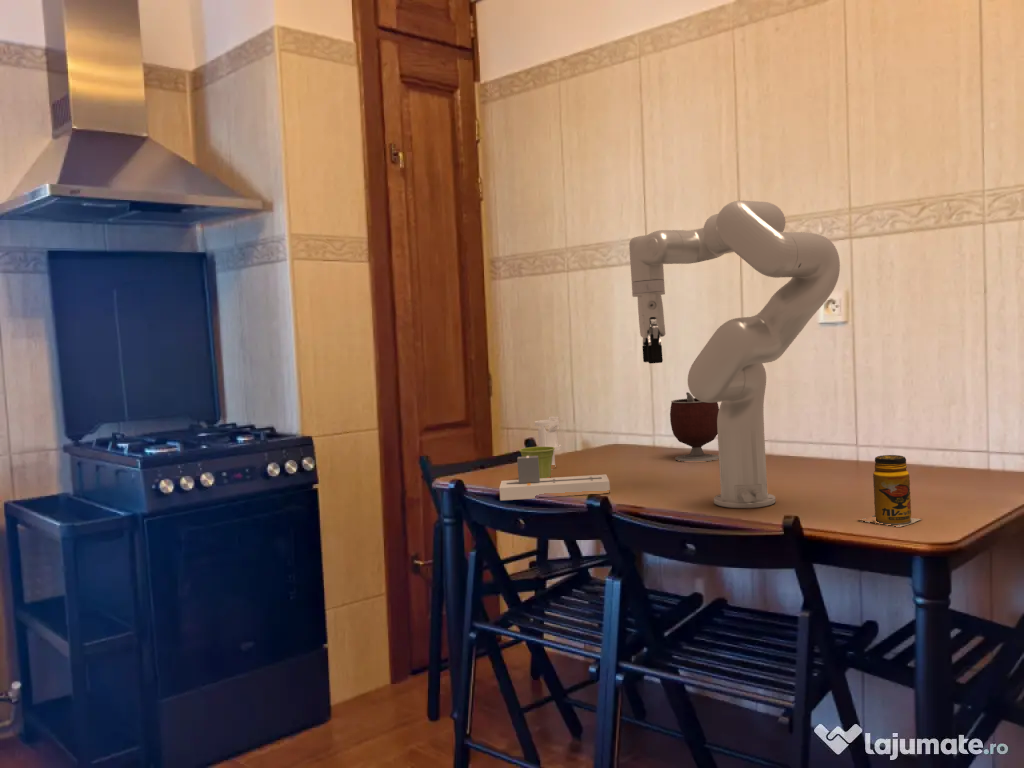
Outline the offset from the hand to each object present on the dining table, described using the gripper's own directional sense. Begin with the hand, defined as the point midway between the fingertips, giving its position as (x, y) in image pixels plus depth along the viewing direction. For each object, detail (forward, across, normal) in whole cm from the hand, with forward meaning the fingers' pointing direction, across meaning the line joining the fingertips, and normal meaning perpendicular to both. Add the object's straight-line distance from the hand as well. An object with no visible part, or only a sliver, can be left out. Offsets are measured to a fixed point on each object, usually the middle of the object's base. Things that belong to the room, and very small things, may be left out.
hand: (652, 362), depth 198 cm
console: (+30, +4, +25) cm, 39 cm away
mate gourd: (+30, +43, -16) cm, 55 cm away
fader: (+27, +4, +31) cm, 41 cm away
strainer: (+30, +43, +26) cm, 59 cm away
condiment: (+31, -43, -36) cm, 64 cm away
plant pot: (+30, +23, +29) cm, 48 cm away
